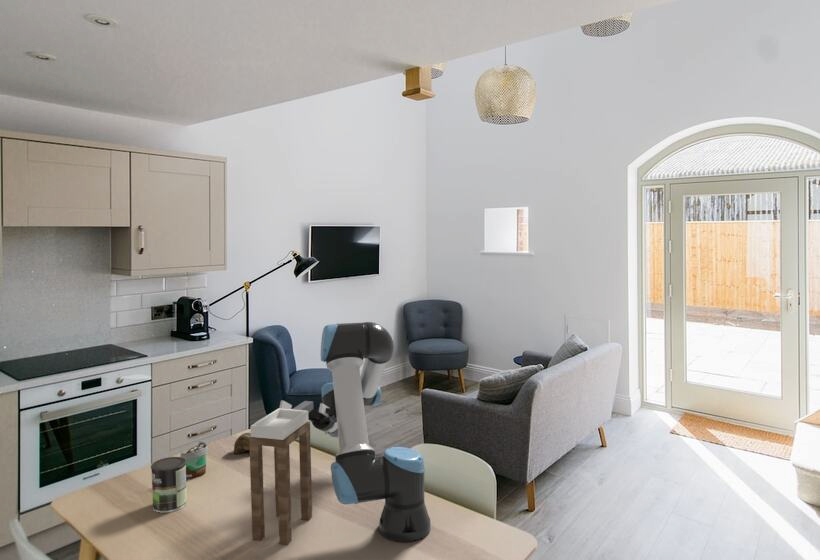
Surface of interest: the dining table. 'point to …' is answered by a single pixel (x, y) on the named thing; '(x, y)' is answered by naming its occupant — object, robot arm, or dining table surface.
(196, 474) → the food container
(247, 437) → the seashell
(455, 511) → the dining table surface
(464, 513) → the dining table surface
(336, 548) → the dining table surface
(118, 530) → the dining table surface
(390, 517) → the robot arm
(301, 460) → the walnut stand
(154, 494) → the coffee can
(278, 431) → the sliding tray
